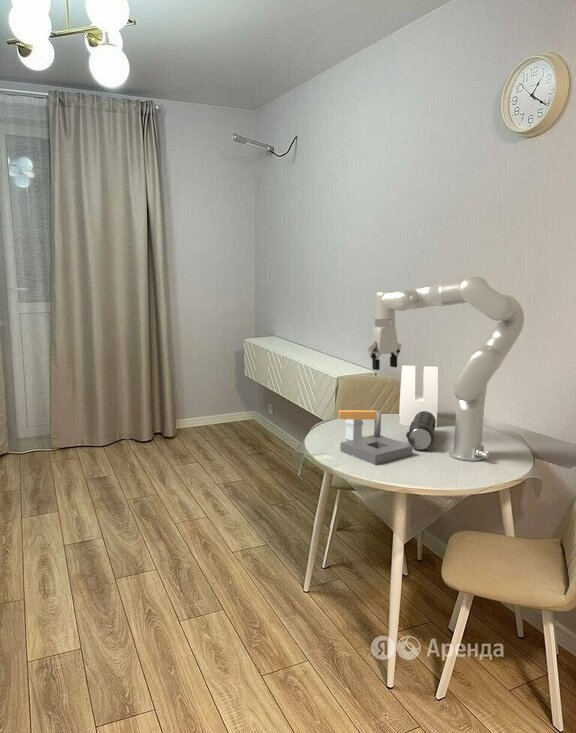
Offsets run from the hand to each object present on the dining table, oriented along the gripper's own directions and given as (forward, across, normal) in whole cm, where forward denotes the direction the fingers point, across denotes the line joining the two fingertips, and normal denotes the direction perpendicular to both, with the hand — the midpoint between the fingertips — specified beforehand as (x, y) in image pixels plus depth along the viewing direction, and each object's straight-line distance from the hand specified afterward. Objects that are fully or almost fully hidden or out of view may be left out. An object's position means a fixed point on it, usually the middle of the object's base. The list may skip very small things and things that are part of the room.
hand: (384, 368), depth 220 cm
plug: (+29, +8, -10) cm, 32 cm away
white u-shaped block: (+30, -37, -15) cm, 50 cm away
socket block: (+30, +13, +7) cm, 33 cm away
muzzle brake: (+26, -10, +3) cm, 28 cm away
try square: (+25, +11, -3) cm, 28 cm away
